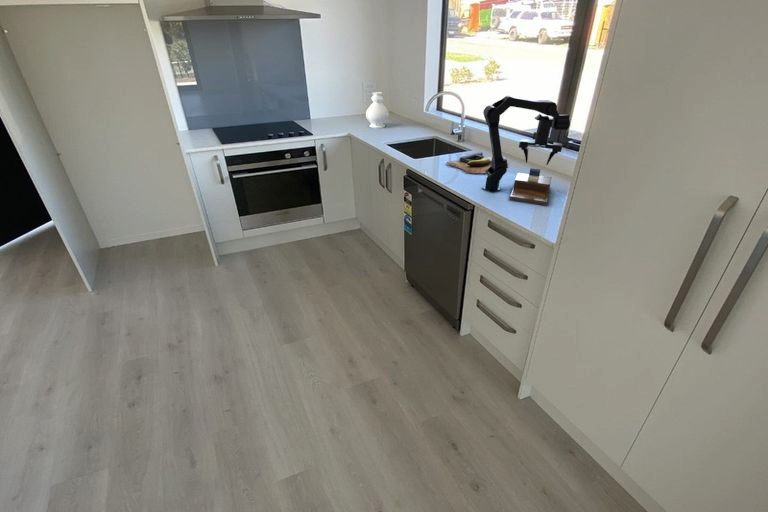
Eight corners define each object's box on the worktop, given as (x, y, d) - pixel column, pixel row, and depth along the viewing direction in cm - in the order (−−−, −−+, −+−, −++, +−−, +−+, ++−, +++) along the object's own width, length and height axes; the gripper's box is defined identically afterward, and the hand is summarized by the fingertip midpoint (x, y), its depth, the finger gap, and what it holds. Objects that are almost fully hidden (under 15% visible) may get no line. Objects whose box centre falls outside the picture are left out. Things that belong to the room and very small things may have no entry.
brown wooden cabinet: (545, 205, 177) (548, 193, 174) (509, 200, 182) (511, 187, 179) (548, 188, 196) (551, 177, 193) (515, 184, 201) (517, 172, 198)
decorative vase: (377, 129, 304) (377, 95, 292) (361, 126, 314) (360, 92, 302) (392, 126, 316) (393, 92, 303) (376, 123, 326) (376, 90, 313)
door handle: (500, 157, 233) (478, 150, 243) (479, 164, 222) (457, 156, 232) (498, 163, 235) (477, 155, 245) (478, 170, 224) (456, 161, 233)
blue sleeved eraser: (537, 181, 186) (539, 173, 184) (527, 180, 188) (529, 172, 186) (539, 176, 194) (540, 168, 192) (529, 175, 195) (531, 167, 193)
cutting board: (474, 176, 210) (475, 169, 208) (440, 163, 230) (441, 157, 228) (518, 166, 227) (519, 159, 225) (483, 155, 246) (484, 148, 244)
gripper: (565, 128, 184) (558, 161, 191) (524, 124, 190) (518, 157, 198) (565, 133, 175) (557, 168, 183) (521, 129, 181) (515, 162, 189)
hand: (536, 163), depth 188 cm, fingers open, 9 cm apart
